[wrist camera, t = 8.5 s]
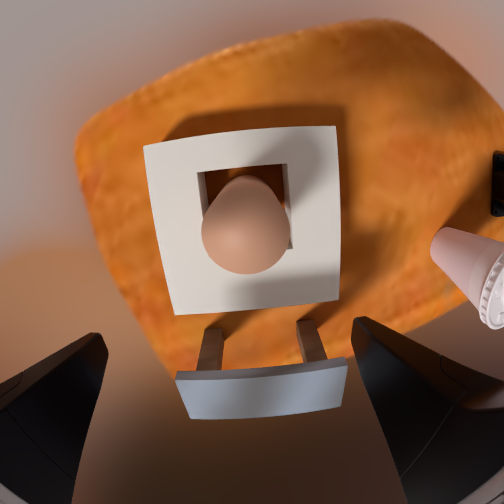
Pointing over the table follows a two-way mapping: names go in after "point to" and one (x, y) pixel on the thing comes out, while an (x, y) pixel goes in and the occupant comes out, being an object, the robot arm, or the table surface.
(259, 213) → the peg
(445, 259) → the smoothie
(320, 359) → the grey arch
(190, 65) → the table surface
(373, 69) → the table surface
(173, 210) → the socket board
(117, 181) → the table surface
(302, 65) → the table surface
